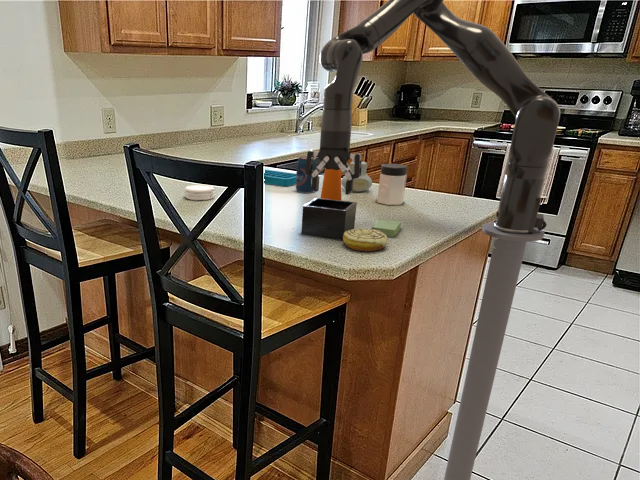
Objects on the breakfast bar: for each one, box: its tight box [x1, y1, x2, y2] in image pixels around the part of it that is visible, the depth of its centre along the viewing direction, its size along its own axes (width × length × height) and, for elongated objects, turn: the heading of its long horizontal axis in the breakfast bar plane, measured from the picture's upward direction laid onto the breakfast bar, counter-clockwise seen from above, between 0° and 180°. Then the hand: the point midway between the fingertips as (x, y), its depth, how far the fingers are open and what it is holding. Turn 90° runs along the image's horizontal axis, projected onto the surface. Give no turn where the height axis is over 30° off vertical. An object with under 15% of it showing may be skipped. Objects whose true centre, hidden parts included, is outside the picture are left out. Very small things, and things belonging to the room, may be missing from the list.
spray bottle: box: [319, 168, 342, 201], centre depth 170 cm, size 7×11×26 cm, turn 18°
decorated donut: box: [342, 228, 389, 252], centre depth 131 cm, size 10×11×4 cm
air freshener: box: [341, 161, 373, 193], centre depth 189 cm, size 11×8×10 cm
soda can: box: [295, 155, 318, 194], centre depth 187 cm, size 7×7×12 cm
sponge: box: [371, 218, 402, 238], centre depth 143 cm, size 9×6×2 cm, turn 154°
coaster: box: [184, 184, 215, 201], centre depth 179 cm, size 10×10×4 cm
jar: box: [377, 163, 408, 206], centre depth 172 cm, size 9×8×12 cm
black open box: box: [301, 197, 358, 241], centre depth 141 cm, size 12×11×8 cm
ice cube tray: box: [263, 168, 297, 187], centre depth 205 cm, size 12×20×3 cm, turn 52°
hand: (331, 192), depth 138 cm, fingers open, 8 cm apart
